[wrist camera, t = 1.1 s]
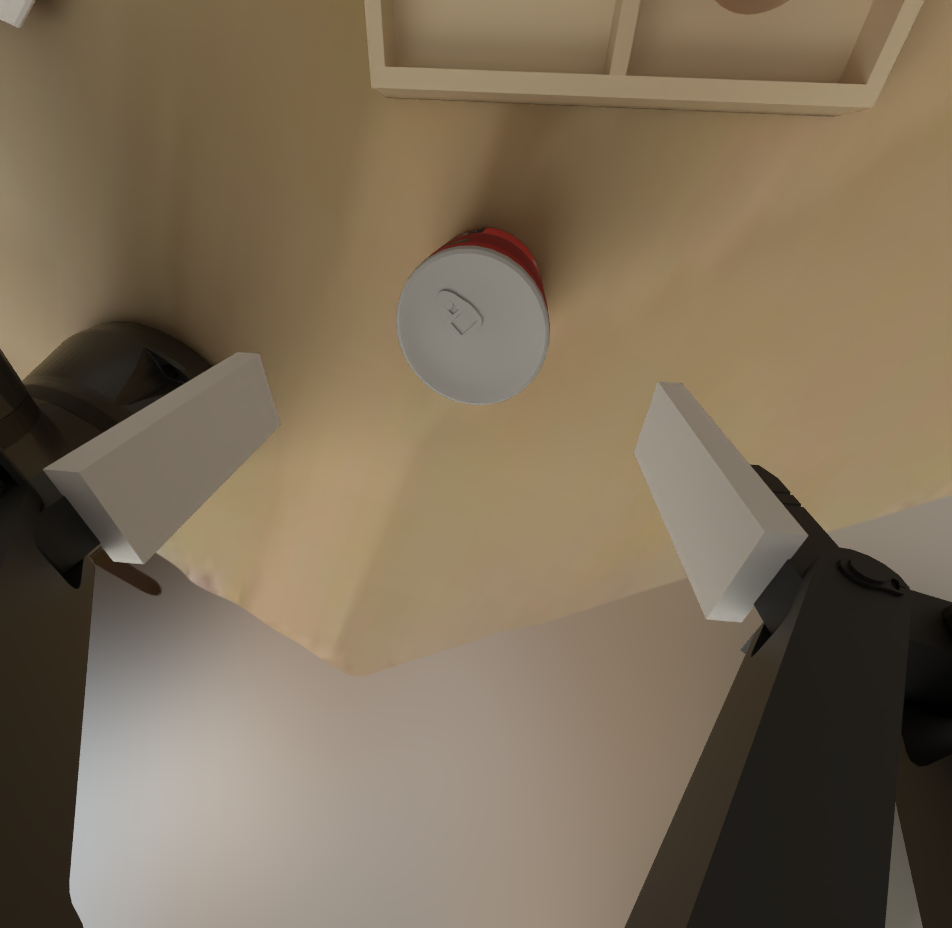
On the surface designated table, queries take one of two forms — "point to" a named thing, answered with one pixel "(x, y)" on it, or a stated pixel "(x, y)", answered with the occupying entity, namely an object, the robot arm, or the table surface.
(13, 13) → the plate
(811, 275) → the table surface
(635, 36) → the divided tray
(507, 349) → the canned food
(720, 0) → the jar
